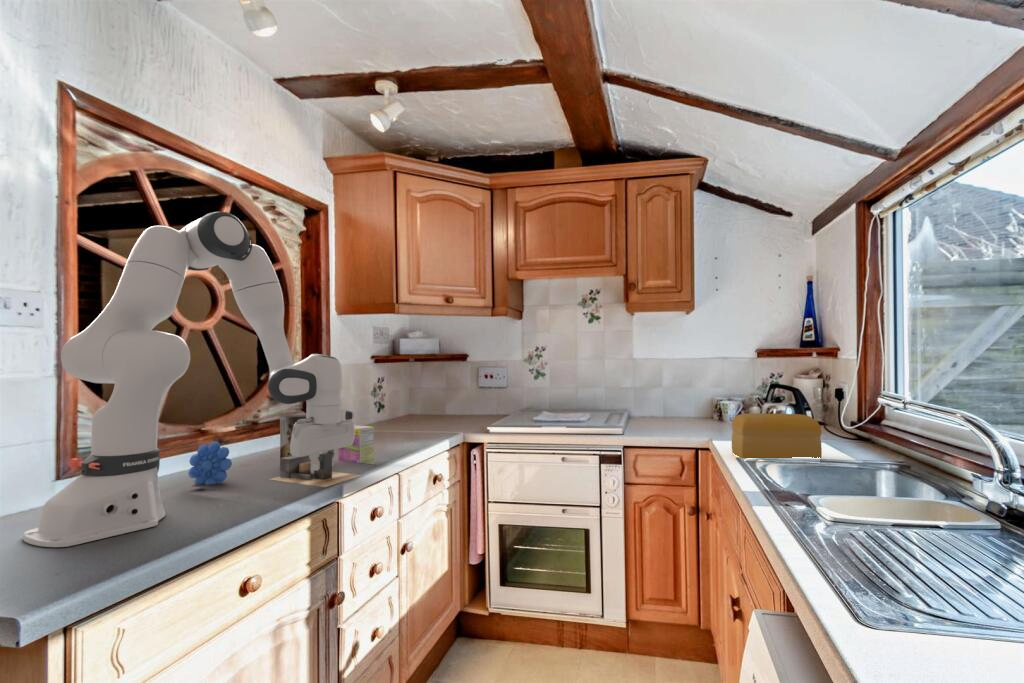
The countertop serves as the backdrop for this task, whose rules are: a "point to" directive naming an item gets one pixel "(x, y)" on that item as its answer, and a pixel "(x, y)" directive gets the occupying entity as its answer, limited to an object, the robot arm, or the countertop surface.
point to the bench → (292, 475)
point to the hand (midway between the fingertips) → (323, 468)
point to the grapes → (210, 464)
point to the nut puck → (305, 467)
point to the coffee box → (287, 432)
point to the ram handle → (323, 467)
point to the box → (359, 446)
